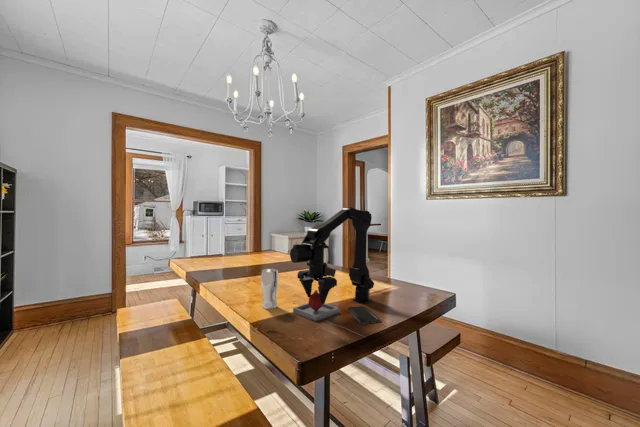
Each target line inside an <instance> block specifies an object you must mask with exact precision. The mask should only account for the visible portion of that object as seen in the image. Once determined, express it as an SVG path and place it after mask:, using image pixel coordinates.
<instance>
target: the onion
mask: <svg viewBox="0 0 640 427" xmlns="http://www.w3.org/2000/svg"><path fill="white" fill-rule="evenodd" d="M308 303H309V306H310V307H311V308H312V309H313V310H315V311H318V310H319V309H320V308H321V307H322V305H323V304H322V303H321V299H320V295H319V291H318V289H315V290H314V291H313V293H311V296H310V297H309V298H308Z"/></svg>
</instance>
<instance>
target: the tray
mask: <svg viewBox="0 0 640 427" xmlns="http://www.w3.org/2000/svg"><path fill="white" fill-rule="evenodd" d="M292 313H293V314H296V315H298V316H301V317H304V318H306V319H309V320H310V321H313V322H319V321H321V320H324V319H326V318H329V317H331V316H335V315H337V314H340V308H339V307H338V306H334V305H332V304H328V303H324V304H323V305H322V307H321V308H320V309H319V310H318V311H315V310H313V309H312V308H311V307H310V306H309V302H308V303H304V304H301V305H298V306H295V307H293V308H292Z"/></svg>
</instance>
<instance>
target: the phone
mask: <svg viewBox="0 0 640 427" xmlns="http://www.w3.org/2000/svg"><path fill="white" fill-rule="evenodd" d="M347 311H348V312H349V313H350V315H351V316H353V318H354V319H355V320H356V321H357V322H358V323H359V324H362V325H365V324H366V323H367V324H376V322H378V323H380V322H381V319H380V317H378V316H377V315H376V314H375V313H373V312H372V311H371V310H370V309H369V308H368V307H366V306H364V305H361V306H349V307H347ZM367 324H366V325H367Z"/></svg>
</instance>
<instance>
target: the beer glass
mask: <svg viewBox="0 0 640 427" xmlns="http://www.w3.org/2000/svg"><path fill="white" fill-rule="evenodd" d="M260 282H261V284H260V285H261V292H262V304H261V308H262V309H265V310H273V309H276V308H277V307H278V302H277V294H278V287H279V269H276V268H263V269H262V270H261V277H260Z"/></svg>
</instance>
